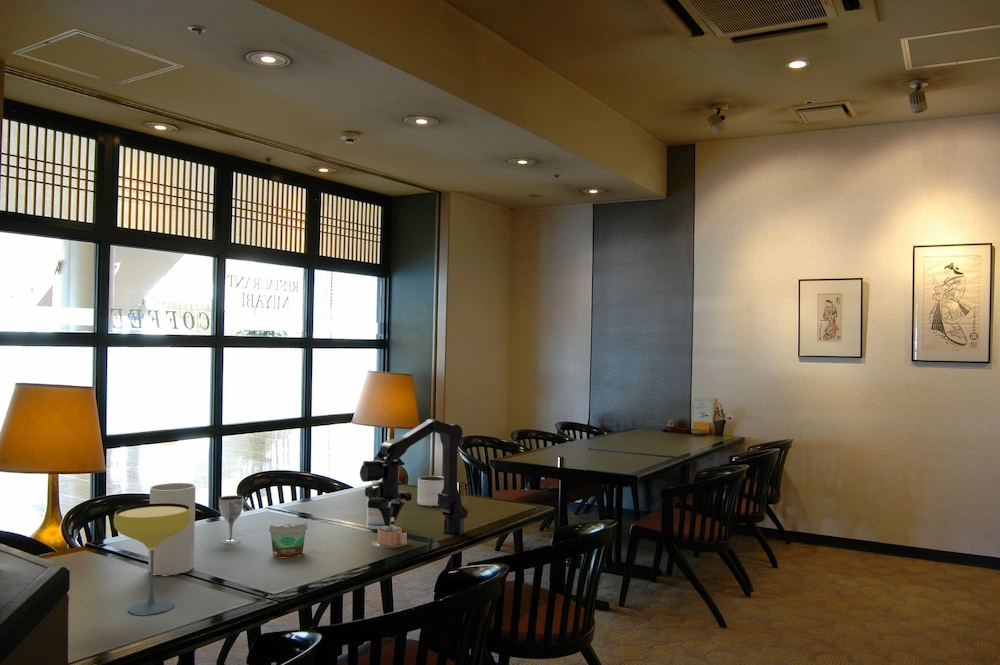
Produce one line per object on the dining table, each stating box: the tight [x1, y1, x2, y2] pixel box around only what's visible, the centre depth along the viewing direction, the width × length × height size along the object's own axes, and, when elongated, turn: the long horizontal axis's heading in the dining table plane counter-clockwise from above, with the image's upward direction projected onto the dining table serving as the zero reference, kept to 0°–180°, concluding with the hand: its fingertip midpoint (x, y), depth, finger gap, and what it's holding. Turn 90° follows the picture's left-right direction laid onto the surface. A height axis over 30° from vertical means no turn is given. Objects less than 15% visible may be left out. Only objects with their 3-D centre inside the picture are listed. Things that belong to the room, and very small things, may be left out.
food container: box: [268, 521, 308, 558], centre depth 251 cm, size 12×6×10 cm, turn 117°
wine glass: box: [218, 495, 244, 541], centre depth 268 cm, size 8×8×15 cm
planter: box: [416, 475, 444, 507], centre depth 335 cm, size 12×12×11 cm
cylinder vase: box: [148, 482, 196, 575], centre depth 233 cm, size 12×12×25 cm
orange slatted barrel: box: [377, 525, 408, 546], centre depth 266 cm, size 10×8×5 cm
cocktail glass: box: [113, 503, 191, 615], centre depth 200 cm, size 18×18×25 cm
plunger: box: [388, 516, 394, 532], centre depth 266 cm, size 5×5×8 cm
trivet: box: [371, 540, 408, 549], centre depth 266 cm, size 12×12×1 cm
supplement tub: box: [366, 485, 394, 530], centre depth 291 cm, size 10×10×15 cm
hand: (389, 525), depth 266 cm, fingers closed on plunger, 3 cm apart
